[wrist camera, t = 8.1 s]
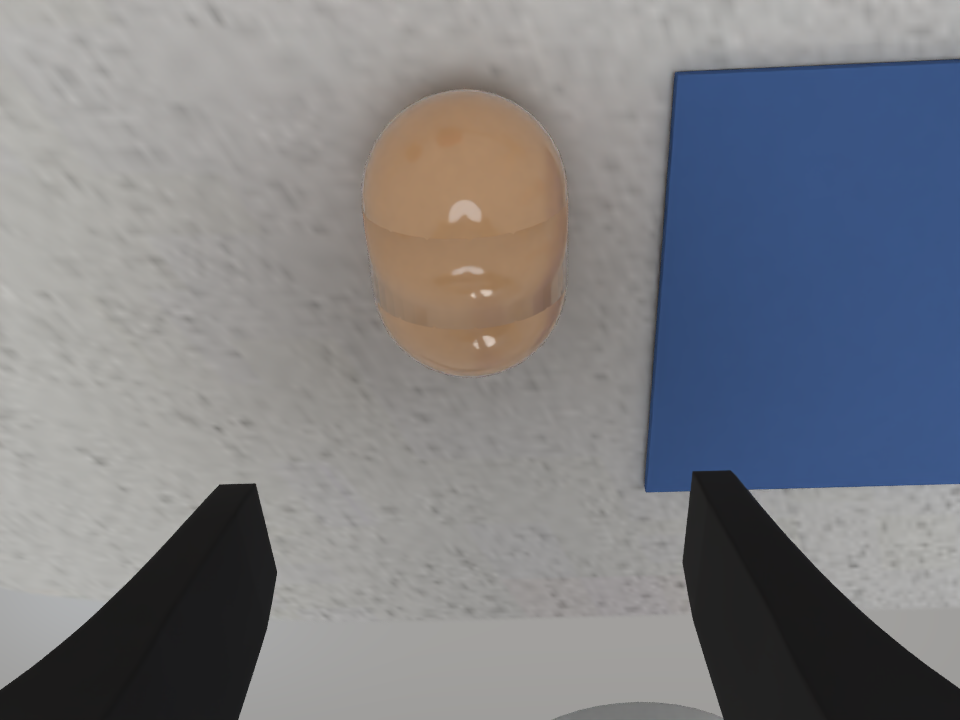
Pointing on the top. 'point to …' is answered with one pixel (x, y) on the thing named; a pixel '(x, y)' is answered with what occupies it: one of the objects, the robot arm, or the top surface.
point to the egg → (466, 232)
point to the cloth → (810, 278)
